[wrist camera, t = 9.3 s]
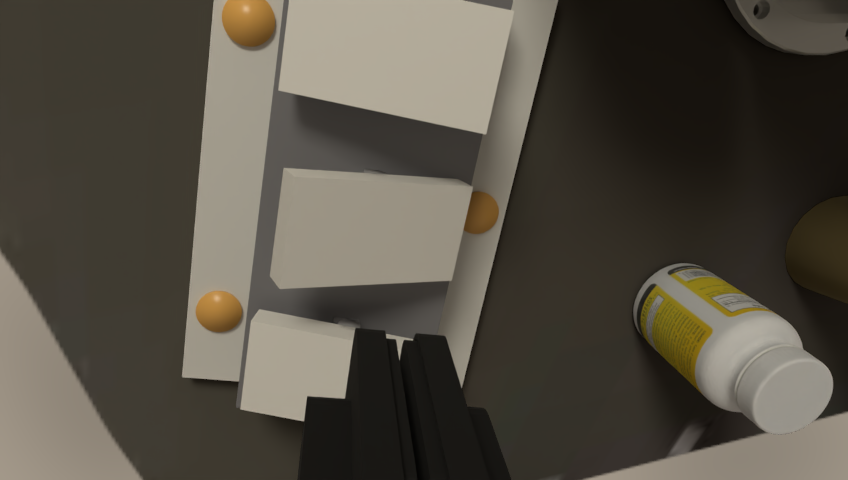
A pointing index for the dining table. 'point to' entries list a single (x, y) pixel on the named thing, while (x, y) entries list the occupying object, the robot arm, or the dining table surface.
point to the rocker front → (398, 57)
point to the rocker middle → (366, 228)
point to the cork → (821, 249)
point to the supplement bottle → (732, 348)
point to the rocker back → (296, 362)
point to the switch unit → (347, 152)
